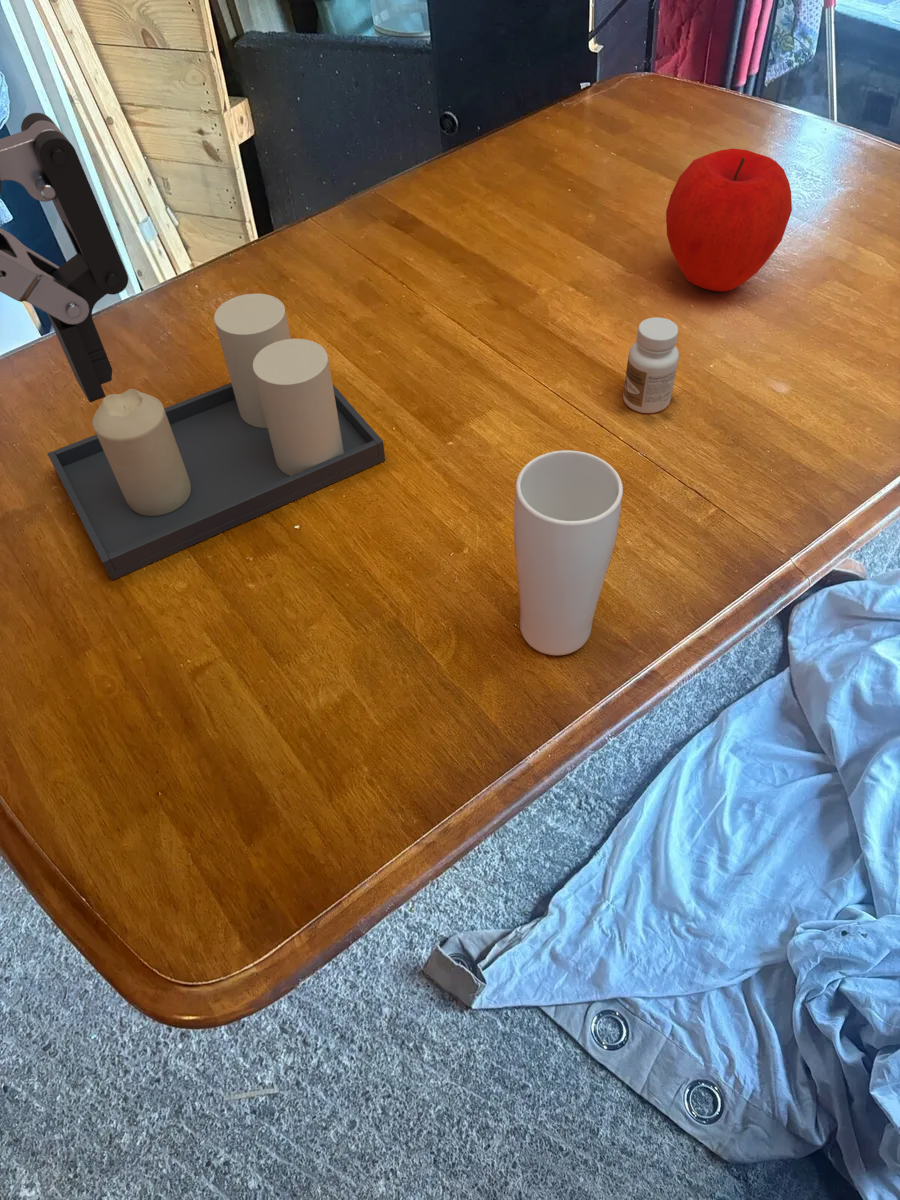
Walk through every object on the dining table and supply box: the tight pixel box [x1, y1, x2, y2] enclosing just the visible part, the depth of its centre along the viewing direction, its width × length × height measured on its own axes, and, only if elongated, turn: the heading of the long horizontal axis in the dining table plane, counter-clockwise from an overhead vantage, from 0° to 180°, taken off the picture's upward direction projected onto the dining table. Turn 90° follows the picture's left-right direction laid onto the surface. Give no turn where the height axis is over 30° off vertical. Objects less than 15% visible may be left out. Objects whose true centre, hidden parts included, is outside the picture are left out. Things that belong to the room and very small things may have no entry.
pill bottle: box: [622, 316, 680, 414], centre depth 80 cm, size 4×4×8 cm
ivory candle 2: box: [253, 338, 344, 476], centre depth 75 cm, size 6×6×10 cm
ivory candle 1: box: [213, 293, 292, 428], centre depth 79 cm, size 6×6×10 cm
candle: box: [91, 388, 191, 516], centre depth 72 cm, size 6×6×10 cm
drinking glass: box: [512, 449, 624, 656], centre depth 61 cm, size 7×7×15 cm
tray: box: [47, 382, 386, 581], centre depth 78 cm, size 25×15×2 cm, turn 122°
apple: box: [665, 148, 793, 292], centre depth 89 cm, size 12×12×13 cm
